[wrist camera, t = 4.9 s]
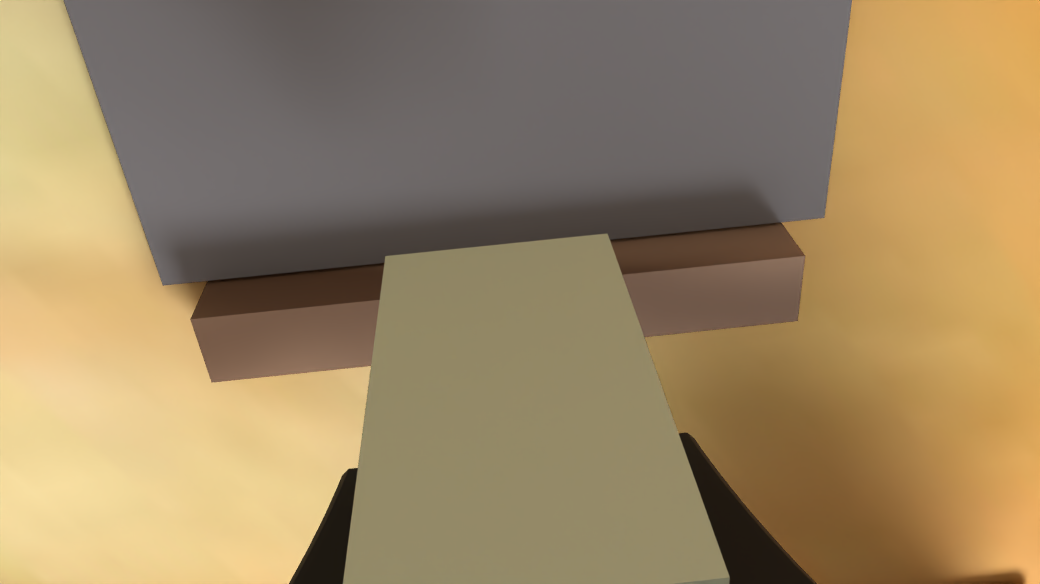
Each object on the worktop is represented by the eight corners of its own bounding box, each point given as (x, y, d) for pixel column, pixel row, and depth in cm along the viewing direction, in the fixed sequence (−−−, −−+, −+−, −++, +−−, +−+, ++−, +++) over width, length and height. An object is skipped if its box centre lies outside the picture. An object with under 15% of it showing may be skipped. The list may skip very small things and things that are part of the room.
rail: (772, 282, 22) (797, 321, 21) (227, 338, 22) (211, 382, 20) (779, 220, 21) (805, 256, 20) (208, 278, 21) (190, 319, 19)
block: (613, 445, 16) (711, 835, 10) (423, 466, 16) (408, 871, 10) (607, 233, 14) (729, 577, 8) (385, 255, 14) (337, 621, 8)
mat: (819, 212, 21) (824, 217, 21) (166, 278, 21) (163, 285, 20) (871, -211, 16) (878, -210, 16) (24, -134, 16) (17, -132, 16)
